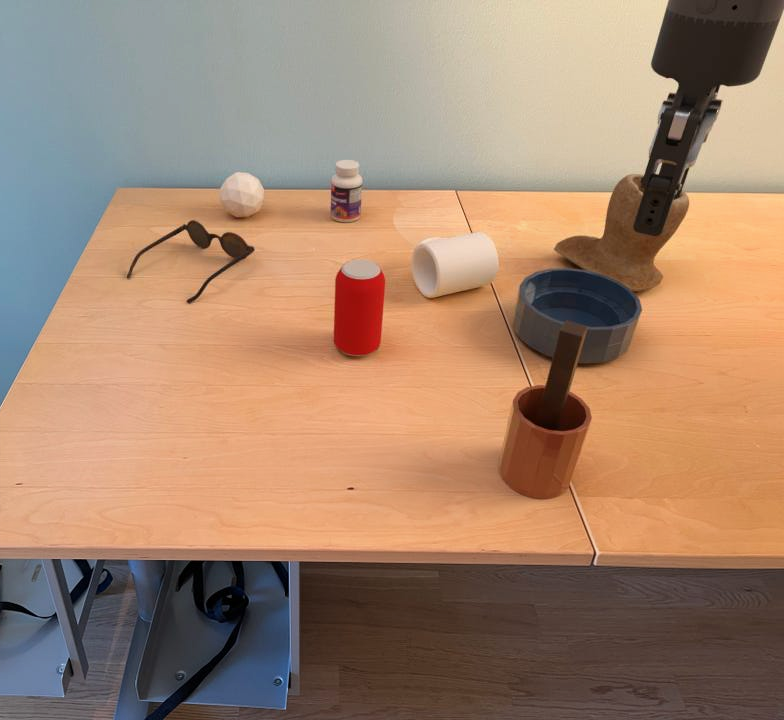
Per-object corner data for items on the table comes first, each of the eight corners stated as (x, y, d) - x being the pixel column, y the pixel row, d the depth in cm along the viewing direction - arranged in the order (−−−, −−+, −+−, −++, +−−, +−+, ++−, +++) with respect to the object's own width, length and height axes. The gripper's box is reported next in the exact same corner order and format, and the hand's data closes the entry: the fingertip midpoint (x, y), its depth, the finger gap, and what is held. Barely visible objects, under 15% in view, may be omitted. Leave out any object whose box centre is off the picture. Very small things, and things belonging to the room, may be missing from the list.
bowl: (639, 324, 97) (652, 287, 93) (613, 382, 86) (627, 343, 83) (531, 294, 103) (539, 258, 100) (495, 344, 93) (503, 306, 89)
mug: (494, 294, 103) (503, 246, 98) (435, 308, 100) (442, 258, 95) (451, 258, 112) (457, 212, 107) (396, 270, 109) (400, 223, 104)
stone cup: (680, 284, 105) (715, 190, 96) (624, 303, 101) (655, 207, 92) (602, 243, 116) (627, 155, 107) (549, 259, 112) (570, 169, 103)
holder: (578, 464, 75) (599, 400, 70) (558, 509, 70) (579, 444, 65) (511, 439, 78) (526, 376, 73) (488, 480, 73) (502, 416, 68)
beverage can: (385, 358, 91) (392, 277, 83) (339, 363, 90) (342, 283, 82) (372, 331, 95) (378, 253, 88) (328, 337, 94) (330, 258, 87)
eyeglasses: (255, 264, 111) (254, 236, 108) (193, 306, 101) (189, 276, 98) (186, 240, 117) (183, 213, 114) (121, 277, 107) (116, 248, 104)
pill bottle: (324, 215, 125) (325, 163, 119) (346, 207, 128) (348, 155, 122) (344, 226, 121) (346, 172, 116) (366, 217, 124) (369, 164, 118)
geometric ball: (244, 223, 129) (254, 181, 128) (265, 223, 122) (277, 179, 122) (207, 210, 124) (218, 166, 124) (228, 210, 118) (239, 164, 117)
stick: (547, 466, 74) (588, 326, 63) (541, 478, 73) (582, 336, 62) (528, 459, 75) (566, 319, 64) (522, 470, 74) (560, 330, 63)
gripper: (775, 31, 44) (690, 259, 54) (789, -4, 54) (715, 194, 63) (649, 18, 47) (590, 235, 57) (684, -13, 57) (629, 177, 67)
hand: (656, 213), depth 60 cm, fingers open, 8 cm apart
